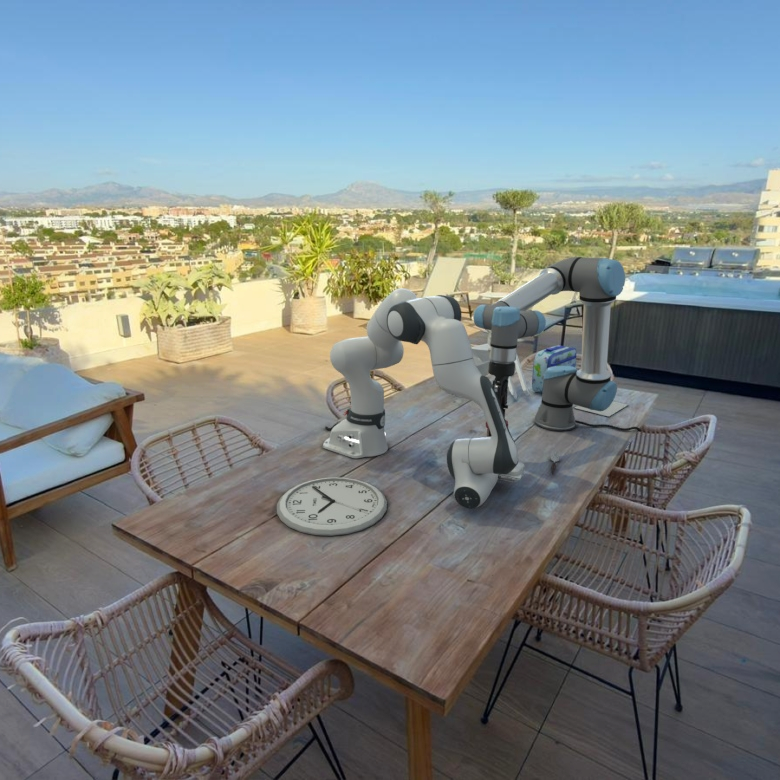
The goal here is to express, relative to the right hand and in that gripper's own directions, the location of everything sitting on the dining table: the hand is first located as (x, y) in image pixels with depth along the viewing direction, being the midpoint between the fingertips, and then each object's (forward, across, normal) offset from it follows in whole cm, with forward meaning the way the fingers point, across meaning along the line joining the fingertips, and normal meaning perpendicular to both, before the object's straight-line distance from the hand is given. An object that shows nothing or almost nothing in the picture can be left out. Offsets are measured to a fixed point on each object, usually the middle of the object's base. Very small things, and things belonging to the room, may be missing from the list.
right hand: (496, 433), depth 158 cm
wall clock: (+14, +37, -37) cm, 54 cm away
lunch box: (+14, -100, +8) cm, 101 cm away
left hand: (+8, -1, 0) cm, 8 cm away
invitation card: (+14, -84, +30) cm, 90 cm away
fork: (+14, -14, +17) cm, 26 cm away
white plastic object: (+14, -82, -23) cm, 86 cm away
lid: (-3, 0, 0) cm, 3 cm away
